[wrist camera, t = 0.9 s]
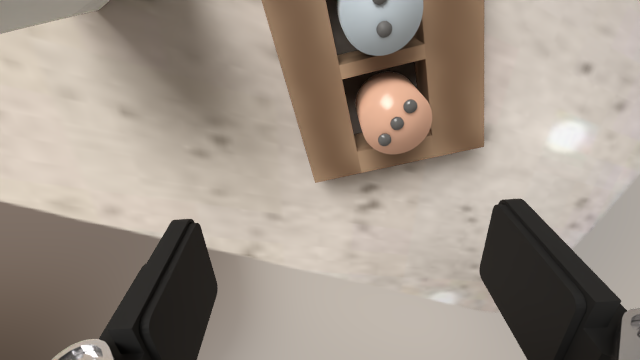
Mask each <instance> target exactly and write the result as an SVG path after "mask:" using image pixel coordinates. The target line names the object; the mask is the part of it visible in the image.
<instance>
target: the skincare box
mask: <svg viewBox="0 0 640 360" xmlns="http://www.w3.org/2000/svg"><path fill="white" fill-rule="evenodd" d="M108 1H109V0H0V34H2V33H6V32H10V31H14V30H18V29H22V28H26V27H30V26H35V25H39V24H43V23H47V22H51V21H55V20H59V19H64V18H68V17H72V16H76V15H80V14H84V13H89V12H93V11H98V10H99V9H100V8H102V7H103V6H104V5H105V4H106V3H107V2H108Z"/></svg>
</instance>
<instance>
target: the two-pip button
mask: <svg viewBox="0 0 640 360" xmlns="http://www.w3.org/2000/svg"><path fill="white" fill-rule="evenodd" d="M422 15H423V0H337V16H338V20H339V23H340V25H341V27H342V29H343V31H344V33H345V35H346V37H347V39H348V40H349V42H350V43H351V44H352V45H353V46H354V47H355V48H356V49H358V50H359V51H361V52H363V53H366V54H369V55H374V56H383V55H388V54H391V53H394V52H396V51H398V50H399V49H401V48H402V47H404V46H405V45H406V44H407V43H408V42H409V41H410V40H411V39H412V38H413V36H414V35H415V33H416V32H417V30H418V28H419V25H420V22H421V19H422Z"/></svg>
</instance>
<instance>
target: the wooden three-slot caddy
mask: <svg viewBox="0 0 640 360" xmlns="http://www.w3.org/2000/svg"><path fill="white" fill-rule="evenodd" d="M262 3H263V7H264V10H265V13H266V17H267V20H268V24H269V27H270V30H271V34H272V37H273V41H274V44H275V47H276V51H277V54H278V58H279V61H280V64H281V68H282V71H283V75H284V78H285V81H286V85H287V88H288V92H289V95H290V98H291V102H292V105H293V109H294V112H295V115H296V119H297V122H298V126H299V129H300V132H301V136H302V139H303V143H304V146H305V149H306V153H307V156H308V160H309V163H310V166H311V170H312V173H313V177H314V180H315V183H316V182H321V181H326V180H330V179H335V178H340V177H344V176H349V175H354V174H358V173H363V172H368V171H372V170H377V169H382V168H386V167H391V166H396V165H400V164H405V163H410V162H414V161H419V160H424V159H428V158H433V157H438V156H442V155H447V154H452V153H456V152H461V151H466V150H470V149H475V148H480V147H484V0H423V15H422V19H421V22H420V25H419V28H418V30H417V32H416V33H415V35H414V36H413V38H412V39H411V40H410V41H409V42H408V43H407V44H406V45H405V46H404V47H402V48H401V49H399V50H398V51H396V52H394V53H391V54H388V55H383V56H374V55H369V54H366V53H363V52H361V51H359V50H356V51H352V52H348V53H344V54H340V55H337V53H336V48H335V43H334V38H333V34H332V29H331V24H330V19H329V15H328V10H327V5H326V0H262ZM411 62H415V69H416V79H417V89H418V91H419V92H420V93H421V94H422V95H423V96H424V97H425V99H426V100H427V101H428V103H429V105H430V107H431V110H432V124H431V128H430V130H429V133H428V134H427V136H426V137H425V139H424V140H423V141H422V142H421V143H420V144H419V145H418V146H416V147H415V148H414V149H412V150H410V151H407V152H405V153H401V154H385V153H382V152H379V151H377V150H375V149H374V148H372V147H371V146H370V145H369V144H368V143H367V141H366V140H365V138H364V135H363V133H358V134H353V129H352V125H351V120H350V115H349V110H348V105H347V101H346V96H345V91H344V86H343V82H342V79H346V78H350V77H354V76H358V75H362V74H366V73H370V72H374V71H378V70H382V69H386V68H390V67H394V66H398V65H402V64H407V63H411Z"/></svg>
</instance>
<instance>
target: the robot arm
mask: <svg viewBox="0 0 640 360" xmlns="http://www.w3.org/2000/svg"><path fill="white" fill-rule="evenodd" d="M480 276H481V279H482V281H483V282H484V284H485V286H486V288H487V289H488V291H489V293H490V295H491V296H492V298H493V300H494V302H495V303H496V305H497V307H498V309H499V310H500V312H501V314H502V316H503V317H504V319H505V321H506V323H507V324H508V326H509V328H510V330H511V331H512V333H513V335H514V337H515V338H516V340H517V342H518V344H519V345H520V347H521V349H522V351H523V352H524V354H525V356H526V358H527V359H528V360H640V308H637V309H631V310H629V311H627V310H626V309H625V308H624V307H623V306H622V305H621V304H620V302H621V300H620V299H619V298H618V297H617V296H616V295H615V294H614V293H613V292H612V291H611V290H610V289H609V288H608V286H607V285H606V284H605V283H604V282H603V281H602V280H601V279H600V278H599V277H598V276H597V275H596V274H595V273H594V272H593V271H592V270H591V269H590V268H589V267H588V266H587V265H586V264H585V263H584V262H583V261H582V260H581V259H580V258H579V257H578V256H577V255H576V254H575V253H574V251H573V250H572V249H571V248H570V247H569V246H568V245H567V244H566V243H565V242H564V241H563V240H562V239H561V238H560V237H559V236H558V235H557V234H556V233H555V232H554V231H553V230H552V229H551V228H550V227H549V226H548V225H547V224H546V223H545V222H544V221H543V220H542V219H541V217H540V216H539V215H538V214H537V213H536V212H535V211H534V210H533V209H532V208H531V207H530V206H529V205H528V204H527V203H526V202H525V201H524V200H522V199H508V200H501V201H500V202H499V204H498V205H495V206H494V208H493V211H492V216H491V220H490V225H489V229H488V233H487V238H486V242H485V247H484V251H483V255H482V260H481V264H480ZM216 295H217V281H216V278H215V275H214V271H213V268H212V264H211V261H210V258H209V254H208V251H207V247H206V244H205V240H204V237H203V234H202V230H201V227H200V225H199V223H194V221H193V220H192V219H181V220H173V221H172V222H171V223H170V225H169V227H168V228H167V230H166V232H165V233H164V235H163V237H162V238H161V240H160V242H159V244H158V245H157V247H156V248H155V250H154V252H153V254H152V255H151V257H150V259H149V260H148V262H147V264H145V265H144V266H143V267H142V268H141V270H140V271H139V273H138V275H137V276H136V278H135V280H134V281H133V283H132V285H131V286H130V288H129V290H128V291H127V293H126V295H125V296H124V298H123V300H122V301H121V303H120V305H119V306H118V308H117V310H116V311H115V313H114V315H113V316H112V318H111V320H110V322H109V323H108V325H107V326H106V328H105V330H104V331H103V333H102V335H101V336H100V338H99V339H88V340H84V341H80V342H78V343H76V344H73V345H71V346H69V347H68V348H66V349H65V350H63V351H62V352H60V353H59V354H58V355H56V357H54V358H53V359H52V360H197V356H198V353H199V350H200V347H201V344H202V341H203V337H204V334H205V331H206V328H207V324H208V321H209V318H210V315H211V311H212V308H213V305H214V302H215V299H216Z"/></svg>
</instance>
